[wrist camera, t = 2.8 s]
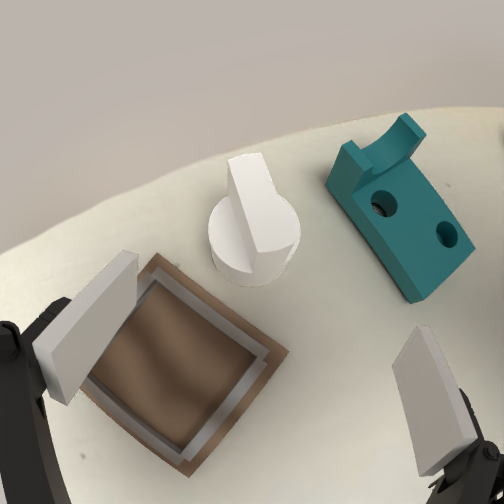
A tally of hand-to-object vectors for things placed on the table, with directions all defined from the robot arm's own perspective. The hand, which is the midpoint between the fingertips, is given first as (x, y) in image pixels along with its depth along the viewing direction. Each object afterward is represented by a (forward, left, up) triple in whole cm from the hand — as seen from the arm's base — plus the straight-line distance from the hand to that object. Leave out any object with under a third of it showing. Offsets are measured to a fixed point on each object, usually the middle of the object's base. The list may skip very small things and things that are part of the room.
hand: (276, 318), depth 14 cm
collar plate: (+8, -5, -20) cm, 22 cm away
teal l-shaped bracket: (-22, +7, -21) cm, 31 cm away
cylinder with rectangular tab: (-8, -6, -21) cm, 23 cm away
